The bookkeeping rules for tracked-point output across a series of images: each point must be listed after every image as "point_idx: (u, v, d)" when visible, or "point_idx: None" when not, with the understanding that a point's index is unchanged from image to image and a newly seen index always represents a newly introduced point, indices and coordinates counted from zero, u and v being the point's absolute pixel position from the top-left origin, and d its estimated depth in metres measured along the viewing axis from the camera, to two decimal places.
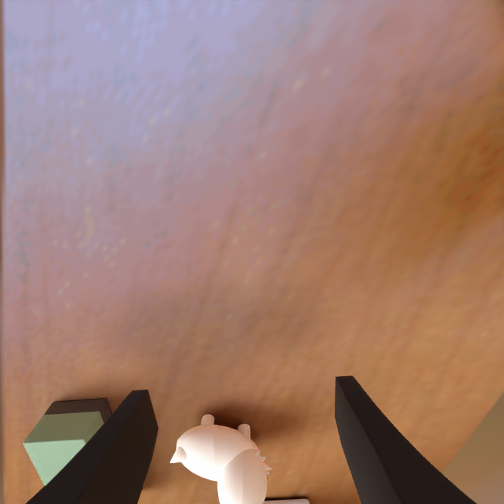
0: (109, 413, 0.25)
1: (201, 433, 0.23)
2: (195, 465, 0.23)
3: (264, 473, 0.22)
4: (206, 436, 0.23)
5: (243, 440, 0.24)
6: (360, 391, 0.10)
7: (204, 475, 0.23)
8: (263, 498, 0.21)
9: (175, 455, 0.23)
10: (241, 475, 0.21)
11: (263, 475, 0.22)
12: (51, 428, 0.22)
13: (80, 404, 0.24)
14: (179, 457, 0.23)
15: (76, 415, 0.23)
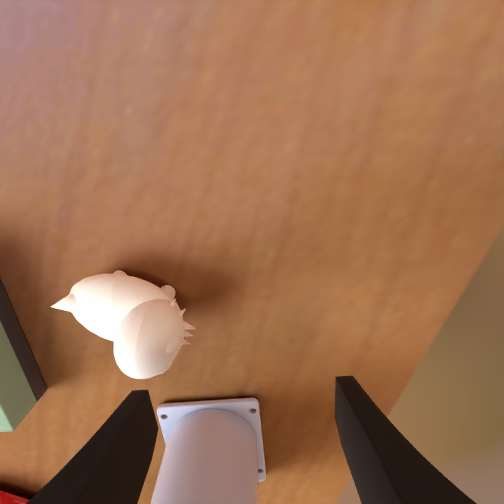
0: None
1: (99, 276, 0.18)
2: (87, 313, 0.17)
3: (178, 323, 0.17)
4: (104, 278, 0.17)
5: (156, 290, 0.18)
6: (360, 391, 0.10)
7: (101, 329, 0.17)
8: (170, 346, 0.16)
9: (61, 300, 0.17)
10: (141, 316, 0.16)
11: (174, 322, 0.17)
12: None
13: None
14: (66, 303, 0.17)
15: None
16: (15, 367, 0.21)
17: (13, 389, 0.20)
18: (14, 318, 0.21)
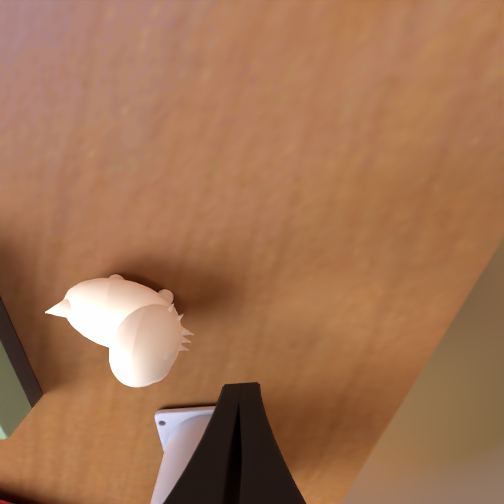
0: None
1: (94, 281, 0.17)
2: (83, 319, 0.17)
3: (175, 329, 0.16)
4: (100, 283, 0.17)
5: (153, 294, 0.18)
6: (256, 398, 0.10)
7: (96, 336, 0.17)
8: (168, 353, 0.15)
9: (55, 305, 0.17)
10: (138, 322, 0.15)
11: (172, 328, 0.16)
12: None
13: None
14: (60, 308, 0.17)
15: None
16: (9, 373, 0.20)
17: (7, 396, 0.20)
18: (8, 323, 0.20)
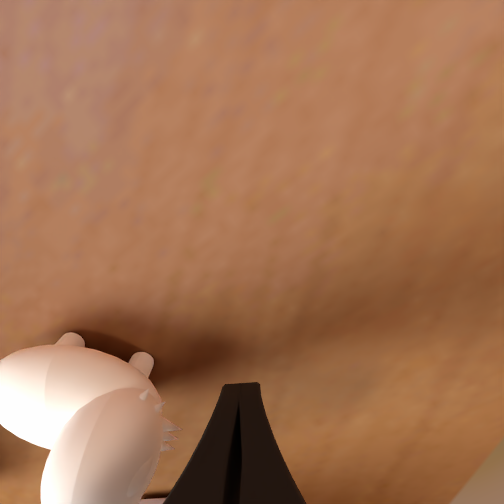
0: None
1: (29, 354, 0.11)
2: (8, 417, 0.11)
3: (150, 433, 0.11)
4: (37, 358, 0.11)
5: (120, 371, 0.12)
6: (256, 398, 0.10)
7: (31, 439, 0.11)
8: (135, 484, 0.10)
9: None
10: (87, 433, 0.10)
11: (144, 436, 0.10)
12: None
13: None
14: None
15: None
16: None
17: None
18: None
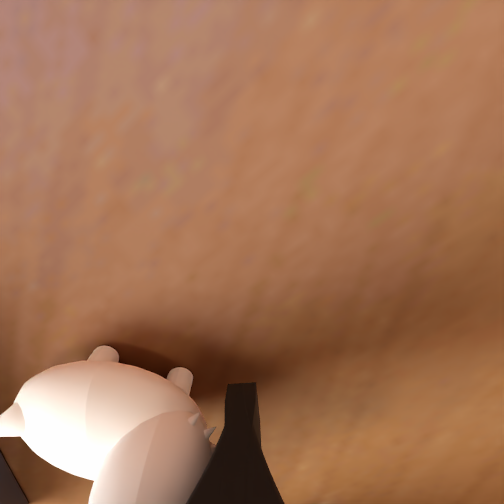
0: None
1: (66, 373, 0.10)
2: (43, 444, 0.10)
3: (204, 464, 0.09)
4: (75, 378, 0.10)
5: (165, 392, 0.11)
6: (241, 399, 0.10)
7: (68, 468, 0.10)
8: None
9: None
10: (139, 467, 0.08)
11: (199, 468, 0.09)
12: None
13: None
14: (5, 425, 0.10)
15: None
16: None
17: None
18: None
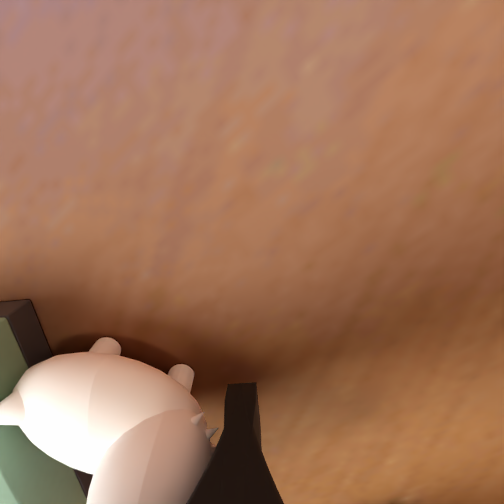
0: (38, 333, 0.12)
1: (70, 364, 0.10)
2: (43, 434, 0.09)
3: (206, 465, 0.09)
4: (79, 370, 0.10)
5: (168, 389, 0.11)
6: (241, 398, 0.10)
7: (66, 461, 0.10)
8: None
9: None
10: (142, 466, 0.08)
11: (201, 469, 0.09)
12: None
13: None
14: (4, 413, 0.09)
15: None
16: (72, 487, 0.13)
17: None
18: None
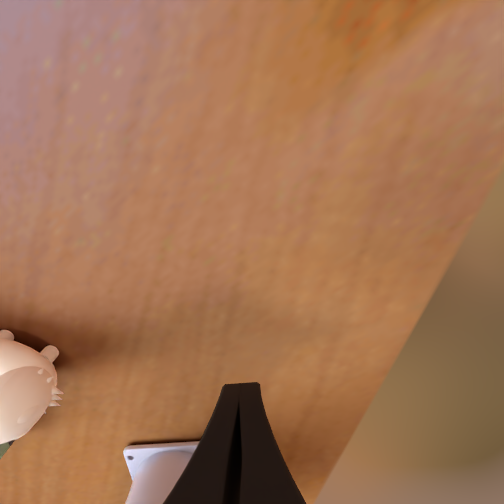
0: None
1: None
2: None
3: (39, 392, 0.19)
4: None
5: (29, 356, 0.20)
6: (256, 398, 0.10)
7: None
8: (23, 417, 0.18)
9: None
10: None
11: (34, 392, 0.18)
12: None
13: None
14: None
15: None
16: None
17: None
18: None
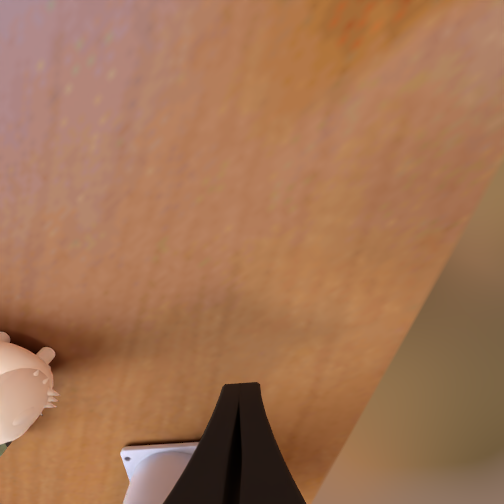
0: None
1: None
2: None
3: (34, 394, 0.19)
4: None
5: (25, 358, 0.20)
6: (256, 398, 0.10)
7: None
8: (18, 419, 0.18)
9: None
10: None
11: (29, 394, 0.18)
12: None
13: None
14: None
15: None
16: None
17: None
18: None
